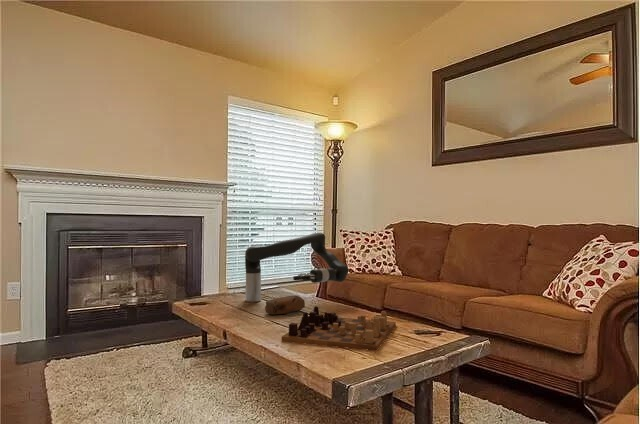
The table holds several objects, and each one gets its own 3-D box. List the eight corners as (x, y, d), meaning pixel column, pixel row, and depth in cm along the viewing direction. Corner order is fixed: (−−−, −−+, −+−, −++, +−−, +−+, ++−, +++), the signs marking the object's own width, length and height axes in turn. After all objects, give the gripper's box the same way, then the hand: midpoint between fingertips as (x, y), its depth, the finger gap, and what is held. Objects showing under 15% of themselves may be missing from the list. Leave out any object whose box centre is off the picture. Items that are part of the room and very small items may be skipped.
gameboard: (376, 352, 164) (376, 328, 164) (281, 342, 178) (281, 320, 178) (395, 327, 201) (395, 307, 201) (315, 320, 215) (315, 302, 215)
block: (294, 307, 241) (263, 313, 229) (294, 293, 241) (263, 299, 229) (306, 311, 233) (274, 317, 220) (306, 297, 232) (274, 302, 220)
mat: (268, 308, 242) (268, 307, 242) (280, 306, 246) (280, 305, 246) (288, 314, 226) (288, 313, 226) (300, 312, 230) (300, 311, 230)
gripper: (312, 267, 250) (287, 270, 239) (326, 269, 240) (301, 272, 229) (312, 280, 250) (287, 283, 239) (326, 283, 239) (301, 286, 229)
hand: (294, 278), depth 234 cm, fingers closed
